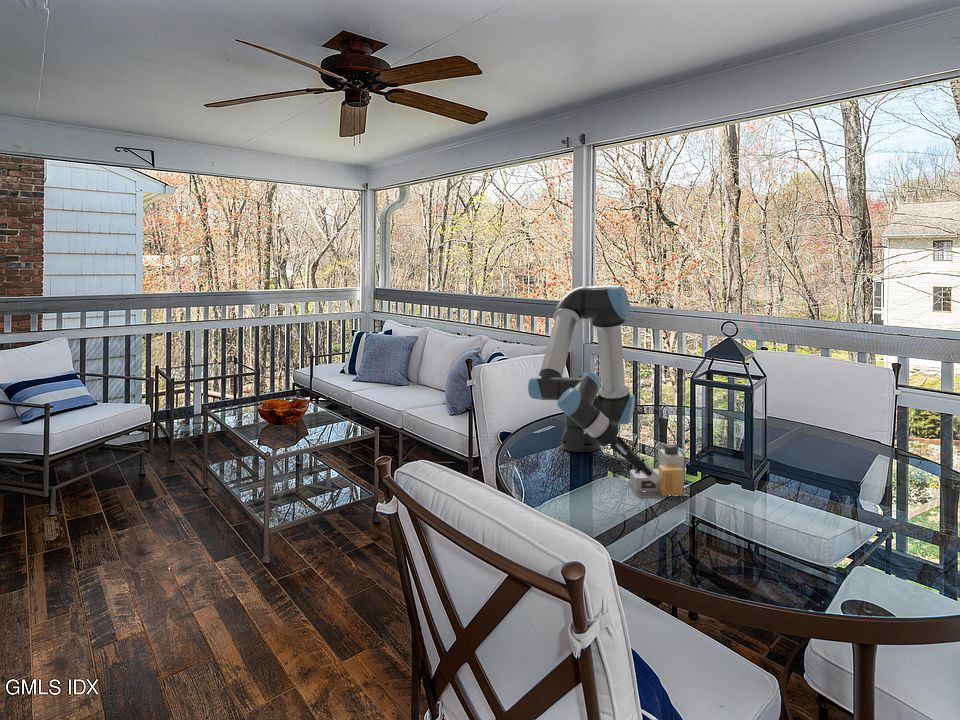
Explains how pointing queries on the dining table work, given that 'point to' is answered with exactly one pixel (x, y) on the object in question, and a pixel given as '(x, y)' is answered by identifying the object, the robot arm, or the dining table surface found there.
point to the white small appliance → (644, 483)
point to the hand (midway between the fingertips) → (657, 480)
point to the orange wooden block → (670, 480)
